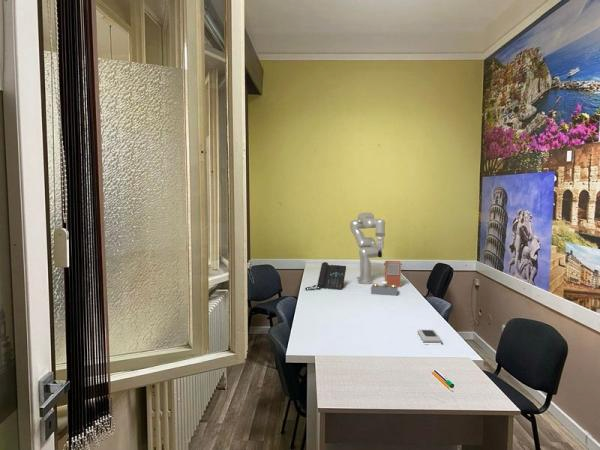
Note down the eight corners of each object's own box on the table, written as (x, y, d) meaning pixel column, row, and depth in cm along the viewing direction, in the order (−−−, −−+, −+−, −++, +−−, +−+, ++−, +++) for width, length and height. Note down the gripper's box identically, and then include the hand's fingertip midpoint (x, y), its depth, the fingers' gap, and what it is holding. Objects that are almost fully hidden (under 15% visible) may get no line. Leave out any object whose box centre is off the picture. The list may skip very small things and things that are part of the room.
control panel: (383, 285, 342) (400, 285, 340) (384, 287, 335) (402, 287, 333) (383, 260, 340) (401, 260, 339) (384, 262, 333) (402, 262, 332)
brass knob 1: (372, 291, 315) (372, 284, 315) (373, 290, 319) (373, 283, 319) (377, 291, 314) (377, 284, 314) (378, 290, 318) (378, 283, 318)
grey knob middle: (381, 288, 313) (381, 281, 313) (382, 287, 317) (382, 280, 317) (386, 289, 312) (386, 282, 312) (387, 287, 316) (387, 281, 316)
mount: (371, 293, 313) (371, 287, 312) (372, 290, 323) (372, 284, 322) (397, 295, 307) (397, 289, 307) (397, 292, 317) (397, 286, 317)
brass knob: (390, 292, 312) (390, 285, 311) (390, 291, 315) (391, 284, 315) (395, 292, 310) (396, 285, 310) (396, 291, 314) (396, 284, 314)
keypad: (423, 338, 210) (417, 328, 225) (423, 345, 211) (417, 334, 225) (442, 338, 210) (434, 328, 224) (442, 345, 210) (434, 335, 225)
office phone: (303, 290, 325) (303, 266, 324) (314, 283, 352) (313, 260, 350) (338, 293, 316) (338, 268, 314) (346, 285, 342) (346, 262, 340)
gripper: (384, 236, 315) (383, 258, 316) (385, 234, 329) (385, 255, 331) (374, 235, 317) (374, 258, 318) (376, 233, 331) (376, 255, 333)
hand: (379, 257), depth 325 cm, fingers closed
